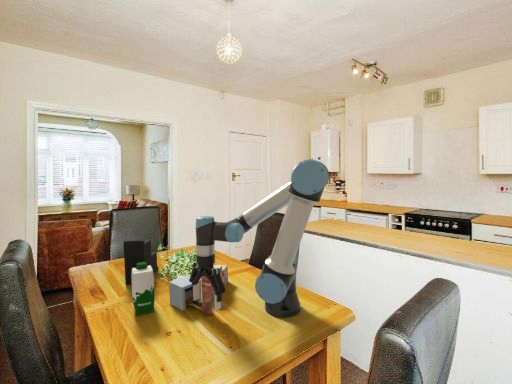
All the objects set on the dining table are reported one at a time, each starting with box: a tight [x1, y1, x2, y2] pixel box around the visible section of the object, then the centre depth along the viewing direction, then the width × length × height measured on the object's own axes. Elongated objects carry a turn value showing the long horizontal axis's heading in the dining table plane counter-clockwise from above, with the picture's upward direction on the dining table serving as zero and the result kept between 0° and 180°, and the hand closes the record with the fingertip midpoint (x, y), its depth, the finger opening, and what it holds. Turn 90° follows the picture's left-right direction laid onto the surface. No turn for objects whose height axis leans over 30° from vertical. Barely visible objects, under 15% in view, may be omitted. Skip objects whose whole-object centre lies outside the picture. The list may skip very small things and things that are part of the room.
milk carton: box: [131, 262, 156, 316], centre depth 118 cm, size 9×9×20 cm
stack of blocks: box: [201, 264, 229, 300], centre depth 138 cm, size 21×6×12 cm, turn 169°
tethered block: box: [185, 284, 213, 317], centre depth 120 cm, size 20×5×12 cm, turn 50°
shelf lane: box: [168, 275, 202, 312], centre depth 124 cm, size 10×10×10 cm
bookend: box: [123, 239, 159, 285], centre depth 158 cm, size 23×11×24 cm, turn 3°
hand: (206, 304), depth 115 cm, fingers open, 13 cm apart
